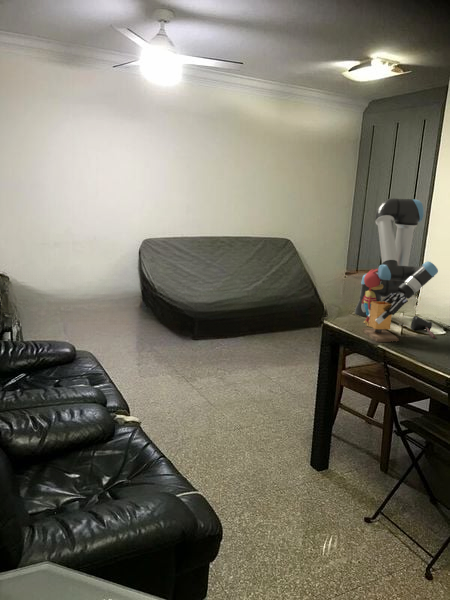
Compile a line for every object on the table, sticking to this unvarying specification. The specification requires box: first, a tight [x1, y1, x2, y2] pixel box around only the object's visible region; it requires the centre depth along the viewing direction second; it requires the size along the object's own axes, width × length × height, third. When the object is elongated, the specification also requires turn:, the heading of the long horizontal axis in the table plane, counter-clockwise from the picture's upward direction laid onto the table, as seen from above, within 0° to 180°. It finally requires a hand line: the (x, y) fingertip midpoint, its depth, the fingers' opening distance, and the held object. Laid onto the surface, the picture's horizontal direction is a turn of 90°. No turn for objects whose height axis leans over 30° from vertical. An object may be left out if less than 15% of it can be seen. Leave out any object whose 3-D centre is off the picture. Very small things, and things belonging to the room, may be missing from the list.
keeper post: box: [362, 327, 400, 343], centre depth 233 cm, size 16×11×10 cm
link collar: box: [369, 300, 393, 330], centre depth 234 cm, size 7×7×12 cm
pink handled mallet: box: [410, 315, 436, 340], centre depth 243 cm, size 8×18×8 cm
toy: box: [361, 268, 383, 329], centre depth 250 cm, size 15×10×30 cm
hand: (373, 320), depth 234 cm, fingers closed on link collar, 7 cm apart
